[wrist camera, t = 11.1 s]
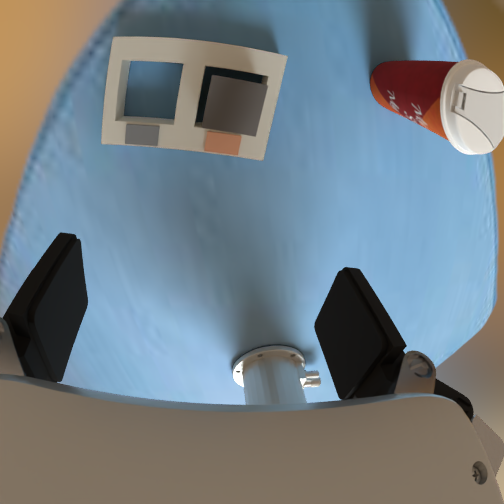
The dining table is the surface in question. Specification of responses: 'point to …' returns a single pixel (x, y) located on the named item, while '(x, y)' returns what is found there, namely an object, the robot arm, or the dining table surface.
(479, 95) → the paper cup
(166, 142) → the socket block
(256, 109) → the plug
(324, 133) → the dining table surface
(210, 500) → the robot arm
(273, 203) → the dining table surface
